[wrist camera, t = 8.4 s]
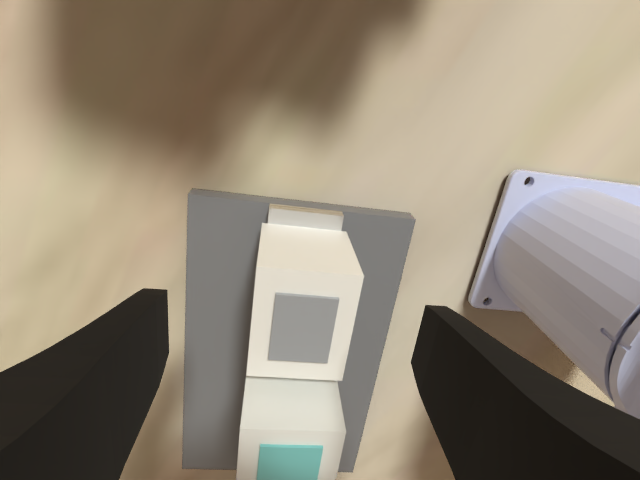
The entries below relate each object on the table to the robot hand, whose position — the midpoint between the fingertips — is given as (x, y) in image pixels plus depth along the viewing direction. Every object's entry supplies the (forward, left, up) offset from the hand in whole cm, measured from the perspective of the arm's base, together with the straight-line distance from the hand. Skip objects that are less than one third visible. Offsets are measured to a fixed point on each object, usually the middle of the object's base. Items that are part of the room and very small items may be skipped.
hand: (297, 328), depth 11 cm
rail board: (-1, +8, -10) cm, 13 cm away
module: (-1, +8, -8) cm, 11 cm away
